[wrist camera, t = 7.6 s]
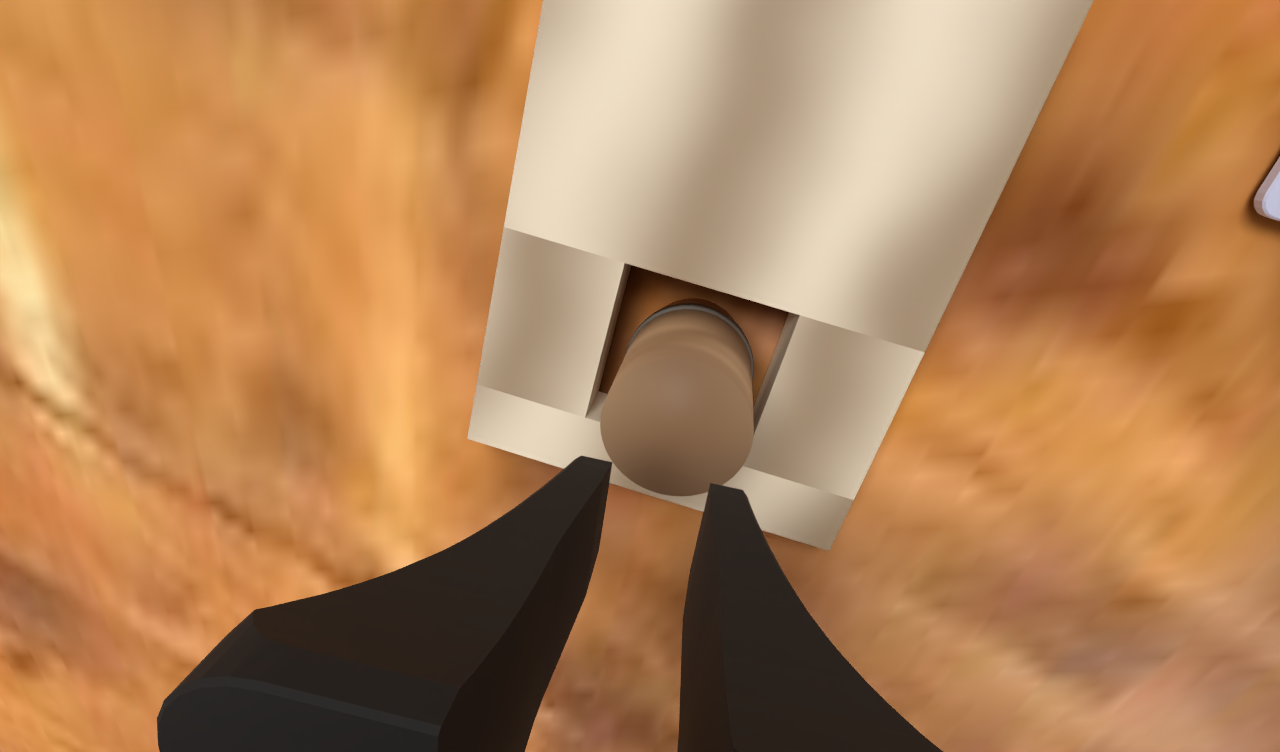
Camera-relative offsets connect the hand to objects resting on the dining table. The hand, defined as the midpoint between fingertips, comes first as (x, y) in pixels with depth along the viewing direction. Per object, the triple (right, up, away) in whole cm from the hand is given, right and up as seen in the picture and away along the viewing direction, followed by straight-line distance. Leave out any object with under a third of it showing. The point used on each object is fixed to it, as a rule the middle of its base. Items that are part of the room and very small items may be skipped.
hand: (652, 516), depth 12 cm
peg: (+1, +4, +9) cm, 9 cm away
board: (+2, +7, +7) cm, 10 cm away
